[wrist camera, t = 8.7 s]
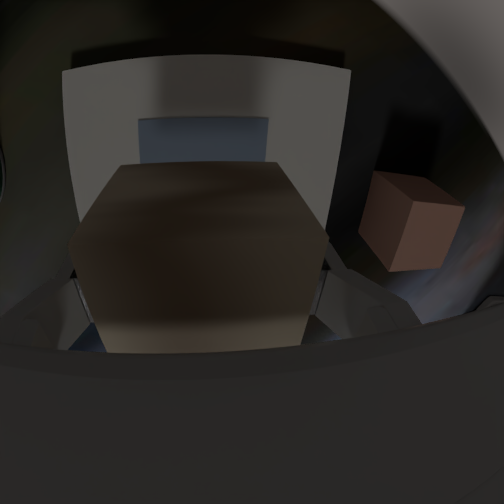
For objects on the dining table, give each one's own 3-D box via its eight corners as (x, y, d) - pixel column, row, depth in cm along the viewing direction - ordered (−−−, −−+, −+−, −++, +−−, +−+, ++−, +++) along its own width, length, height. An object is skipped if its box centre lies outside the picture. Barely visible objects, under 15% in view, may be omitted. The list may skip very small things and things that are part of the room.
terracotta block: (424, 177, 20) (465, 206, 16) (407, 232, 23) (440, 267, 19) (373, 170, 19) (413, 201, 15) (357, 231, 22) (388, 271, 18)
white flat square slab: (342, 69, 15) (351, 70, 14) (310, 261, 23) (315, 271, 22) (70, 70, 12) (61, 71, 11) (98, 267, 20) (94, 278, 19)
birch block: (276, 162, 10) (329, 237, 6) (263, 282, 13) (289, 378, 9) (120, 165, 9) (66, 244, 5) (139, 286, 12) (123, 385, 8)
